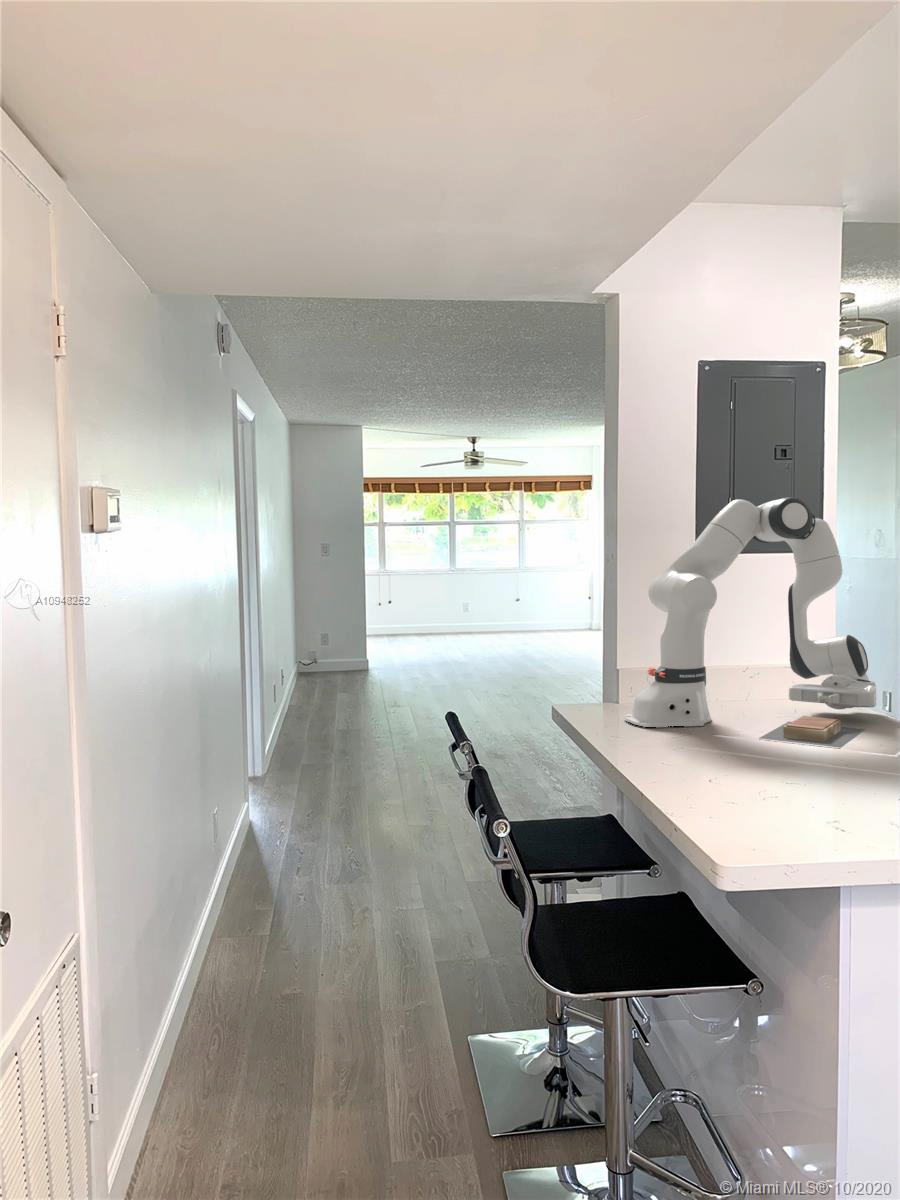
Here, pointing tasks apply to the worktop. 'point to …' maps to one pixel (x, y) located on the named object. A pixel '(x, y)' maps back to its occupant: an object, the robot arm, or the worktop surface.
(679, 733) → the worktop surface
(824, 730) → the flat wooden block
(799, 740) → the rubber mat
